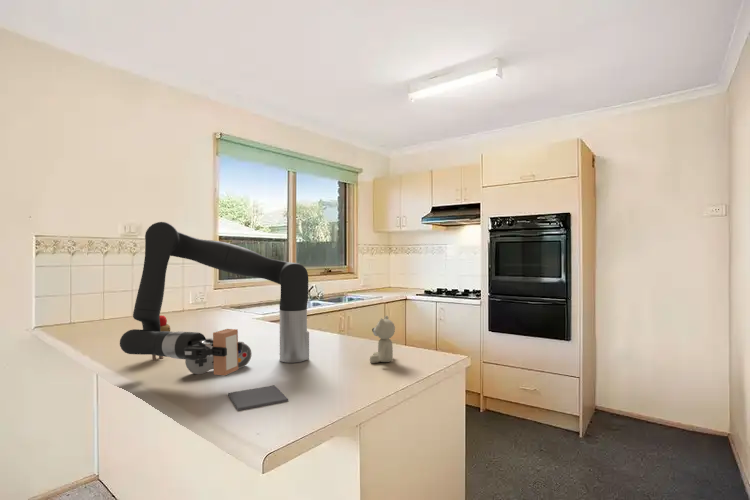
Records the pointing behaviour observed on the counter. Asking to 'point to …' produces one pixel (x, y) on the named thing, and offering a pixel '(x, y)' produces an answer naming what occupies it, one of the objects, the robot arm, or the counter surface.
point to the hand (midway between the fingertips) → (233, 349)
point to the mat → (257, 397)
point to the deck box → (229, 341)
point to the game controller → (208, 363)
